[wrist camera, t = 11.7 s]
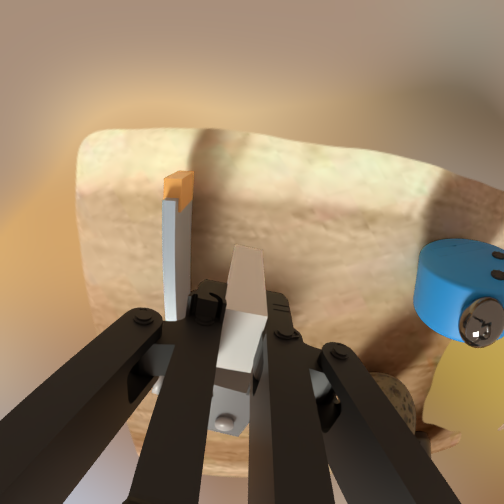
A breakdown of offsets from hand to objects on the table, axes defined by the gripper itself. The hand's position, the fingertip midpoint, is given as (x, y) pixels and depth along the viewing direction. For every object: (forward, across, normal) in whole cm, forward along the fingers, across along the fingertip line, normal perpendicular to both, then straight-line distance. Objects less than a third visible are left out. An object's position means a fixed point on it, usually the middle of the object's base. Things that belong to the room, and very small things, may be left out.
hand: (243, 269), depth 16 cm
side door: (+13, -5, -5) cm, 15 cm away
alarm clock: (+14, +24, 0) cm, 28 cm away
